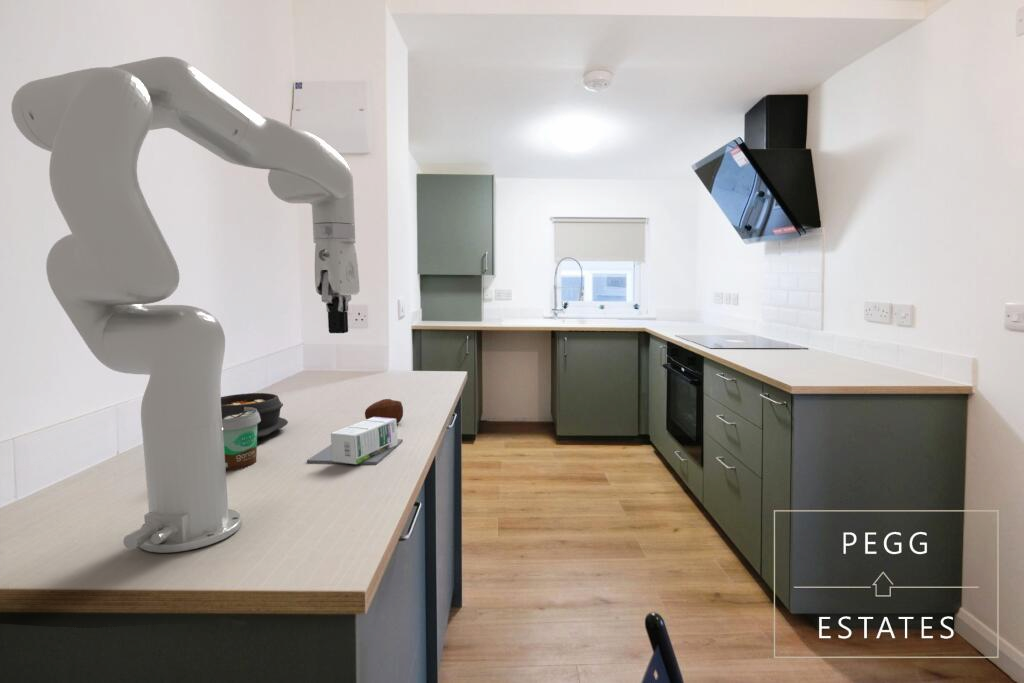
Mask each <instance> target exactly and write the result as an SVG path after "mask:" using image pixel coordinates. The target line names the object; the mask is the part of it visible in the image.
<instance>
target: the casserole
mask: <svg viewBox="0 0 1024 683" xmlns="http://www.w3.org/2000/svg"><path fill="white" fill-rule="evenodd" d="M283 406H284V403H282V401H281V400H280V397H279V395H277V394H273V393H268V392H267V393H266V392H252V393H249V392H248V393H240V394H239V393H238V394H230V395H224V396H221V412H222V418H223V417H225V416H228V415H236V414H239V413H241V412H244V407H251V408H255V409H257V412H259V415H260V419H261V421H260V422H259V423H257V439H258V438H263V437H266V436H268V435H270V434H272V433H273V432H275V431H278V430H279V429H281V428H283V427H285V426H287V425H288V423H289V421H288V420H287V419H286V418H283V417H280V414H281V409H282V407H283Z"/></svg>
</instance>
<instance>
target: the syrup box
mask: <svg viewBox="0 0 1024 683" xmlns="http://www.w3.org/2000/svg"><path fill="white" fill-rule="evenodd" d="M397 425H398V423H397V424H396V419H393V418H381V417H372V418H370V419H365V420H362V421H360V422H356V423H354V424H352V425H349V426H347V427H346V426H345V427H343V428H341V429H337V430H336V431H335V430H334V431H333V432H330V440H331V441H330V442H331V444H330V445H331V447H332V461H334V462H342V463H350V464H351V465H359V464H358V463H360V462H362V461H364V460H366V459H368V458H371V457H373V456H375V455H377V454H379V453H381V452H383V451H385V450H387V449H390V448H392V447H394V446H396V445H398V443H397V439H398V430H397V429H398V426H397ZM398 446H399V445H398ZM350 464H349V465H350Z"/></svg>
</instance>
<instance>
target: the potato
mask: <svg viewBox="0 0 1024 683" xmlns="http://www.w3.org/2000/svg"><path fill="white" fill-rule="evenodd" d="M403 415H404V407H403V404H402V401H401V400H394V399H393V400H392V399H390V398H385V399H381V400H379V401H376V402H374V403H372V404H371V405H369V406H368V407H367V408H366V409H365V411H364V417H365V418H364V419H365V420H367V419H370V418H372V417H381V418H393V419H396V424H397V425H398V424H399V423H400V422H401V421H402V420H403V417H404V416H403Z"/></svg>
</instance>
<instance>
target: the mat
mask: <svg viewBox="0 0 1024 683" xmlns="http://www.w3.org/2000/svg"><path fill="white" fill-rule="evenodd" d="M403 441H404V440H403V439H402V438H401V439H400V438H397V443H398V445H396V446H394V447H392V448H390V449H387V450H385V451H383V452H381V453H379V454H377V455H375V456H373V457H371V458H368V459H366V460H364V461H362V462H360V463H358V464H357V465H378V464H379V463H380V462H381V461H383V460H384V459H385V458H386V457H387V456H388V455H390V453H391V452H393V451H394V450H395V449H396V448H398V446H400V445H401V444H402V443H403ZM306 463H308V464H339V465H340V464H341V465H342V464H344V465H345V464H346V465H350V463H342V462H334V461H332V447H331V444H330V445H328V446H326V447H325V448H324V449H322V450H321V451H319V452H317V453H316V454H314V455H313V456H311V457H310V458H308V459H306Z"/></svg>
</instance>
